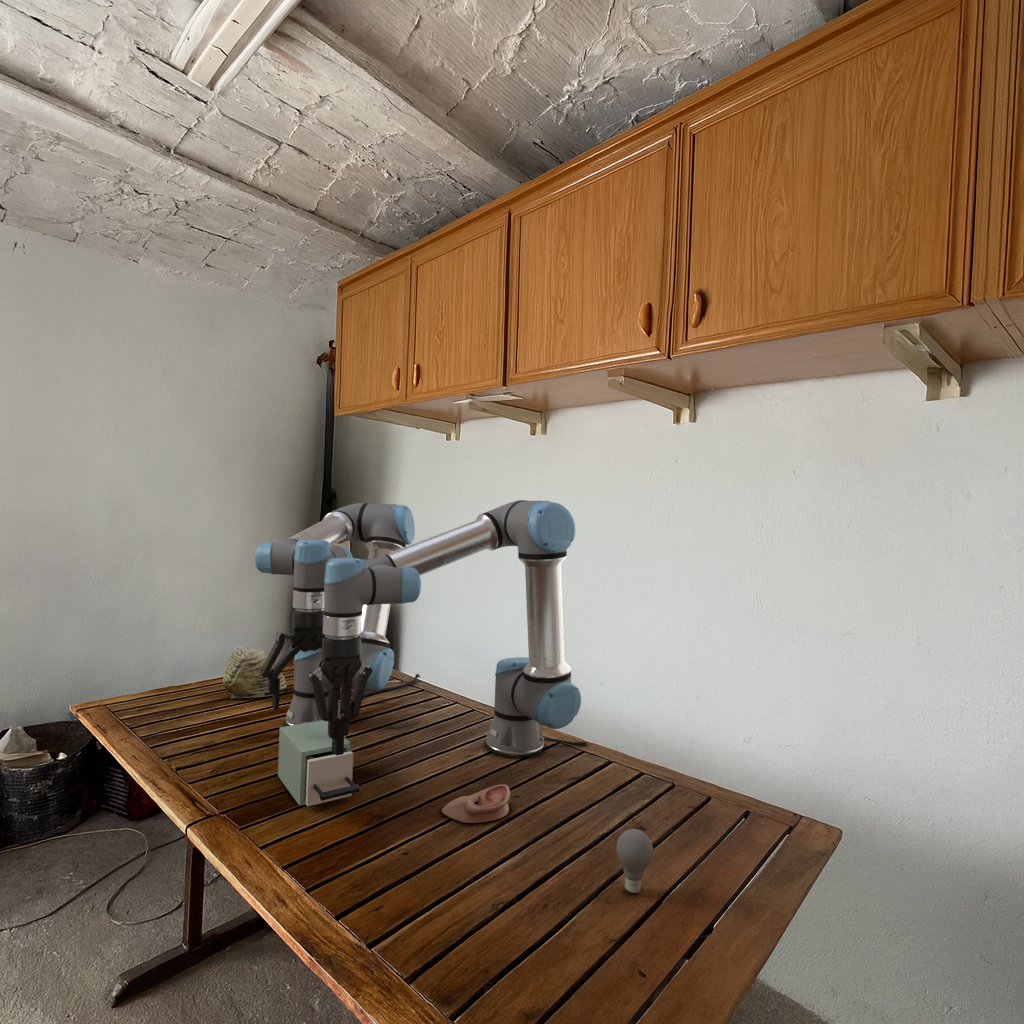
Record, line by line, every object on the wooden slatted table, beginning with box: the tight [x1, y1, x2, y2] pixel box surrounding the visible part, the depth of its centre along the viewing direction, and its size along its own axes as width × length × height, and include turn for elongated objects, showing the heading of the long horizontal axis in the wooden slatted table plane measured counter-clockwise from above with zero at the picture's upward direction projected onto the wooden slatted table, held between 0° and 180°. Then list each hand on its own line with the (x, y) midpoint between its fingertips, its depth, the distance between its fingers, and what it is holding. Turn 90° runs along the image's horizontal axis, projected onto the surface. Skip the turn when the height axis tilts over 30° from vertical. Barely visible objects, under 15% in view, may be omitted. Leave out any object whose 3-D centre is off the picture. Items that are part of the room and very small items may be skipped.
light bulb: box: [615, 828, 654, 894], centre depth 106 cm, size 6×6×10 cm
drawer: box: [305, 750, 361, 807], centre depth 134 cm, size 21×9×9 cm, turn 36°
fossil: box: [222, 646, 288, 699], centre depth 198 cm, size 9×18×15 cm, turn 132°
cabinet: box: [277, 720, 352, 807], centre depth 139 cm, size 16×10×11 cm, turn 36°
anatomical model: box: [441, 784, 511, 824], centre depth 131 cm, size 13×4×12 cm
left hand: (306, 703), depth 142 cm, fingers open, 13 cm apart
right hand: (337, 752), depth 127 cm, fingers closed
